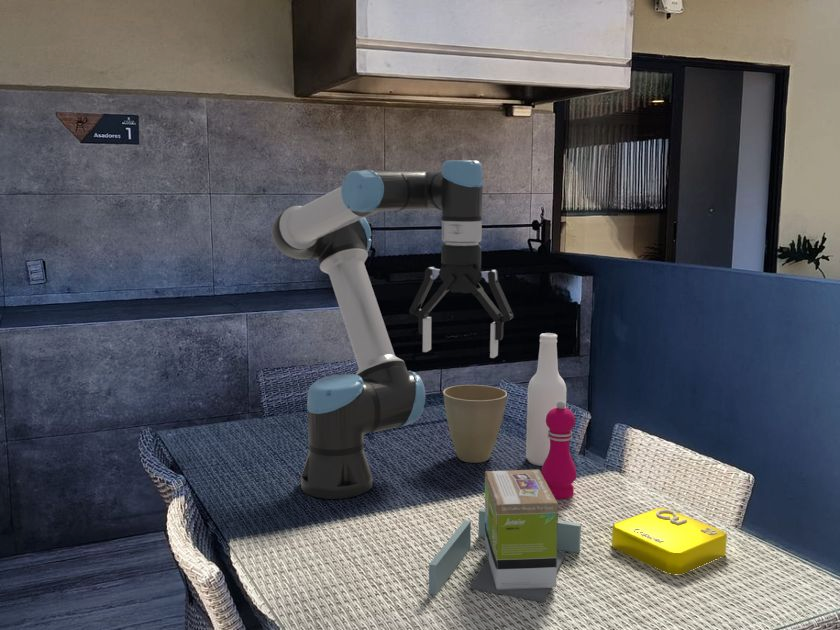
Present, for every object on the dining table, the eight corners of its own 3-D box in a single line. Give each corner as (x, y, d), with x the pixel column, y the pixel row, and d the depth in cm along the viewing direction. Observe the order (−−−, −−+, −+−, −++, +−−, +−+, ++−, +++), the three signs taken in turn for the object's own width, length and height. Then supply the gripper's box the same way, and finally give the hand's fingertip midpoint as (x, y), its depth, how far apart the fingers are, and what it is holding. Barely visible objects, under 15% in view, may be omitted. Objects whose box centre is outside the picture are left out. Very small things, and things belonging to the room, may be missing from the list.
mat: (470, 588, 131) (470, 585, 131) (498, 544, 147) (498, 541, 146) (544, 602, 127) (544, 598, 127) (565, 555, 142) (565, 552, 142)
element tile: (606, 547, 147) (607, 521, 146) (660, 526, 155) (662, 503, 154) (675, 580, 135) (677, 553, 134) (730, 556, 143) (732, 530, 142)
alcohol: (566, 456, 193) (570, 332, 188) (560, 469, 185) (564, 339, 180) (530, 452, 196) (533, 329, 191) (522, 464, 188) (525, 336, 183)
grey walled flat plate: (428, 593, 129) (428, 564, 128) (474, 533, 151) (474, 507, 151) (551, 617, 122) (552, 586, 121) (580, 550, 144) (581, 523, 144)
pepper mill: (575, 501, 166) (578, 406, 163) (539, 498, 168) (542, 404, 165) (576, 488, 173) (579, 397, 170) (541, 486, 175) (544, 395, 172)
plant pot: (487, 473, 182) (488, 404, 180) (430, 461, 190) (431, 394, 188) (516, 454, 195) (518, 389, 192) (462, 443, 203) (462, 381, 200)
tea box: (482, 548, 144) (483, 468, 141) (539, 547, 144) (541, 467, 142) (494, 591, 129) (496, 502, 126) (557, 589, 129) (560, 501, 127)
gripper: (392, 242, 155) (392, 352, 158) (521, 247, 146) (518, 363, 150) (407, 239, 162) (407, 344, 165) (531, 244, 153) (527, 355, 156)
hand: (459, 353), depth 157 cm, fingers open, 13 cm apart
